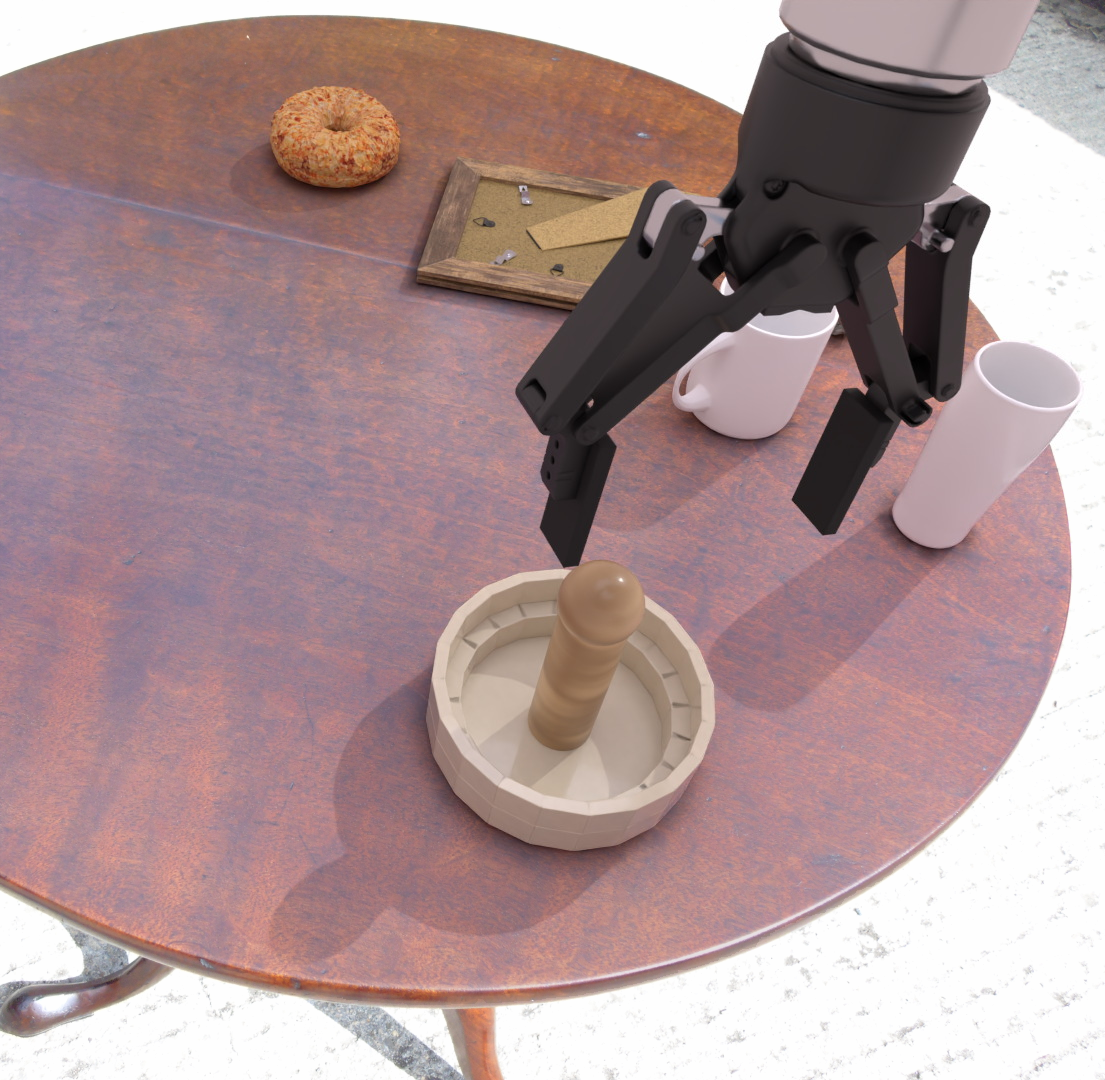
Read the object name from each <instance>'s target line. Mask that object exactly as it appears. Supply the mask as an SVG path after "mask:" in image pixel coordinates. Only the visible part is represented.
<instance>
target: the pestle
mask: <svg viewBox="0 0 1105 1080" xmlns="http://www.w3.org/2000/svg"><path fill="white" fill-rule="evenodd" d="M644 595H645V591H644V589H643V585H642V584H641V582H640V580H639V579H638V577H637V576H636V574H634V573H633V571H631V570H630V569H629V568H628V567H626V566H625V565H623V564H621V563H619V562H617V561H614V560H610V559H592V560H588V561H585V562H582V563H580V564H579V566H574V568H573V569H572V571H571V572H569V573H568V575H567V576H566V577H565V579H564V580H563V582H562V584H561V586H560V588H559V592H558V597H557V608H558V615H557V618H556V622H555V625H554V628H553V632H552V635H551V638H550V642H549V645H548V649H547V652H546V655H545V659H544V662H543V665H542V669H541V672H540V676H539V679H538V682H537V686H536V689H535V693H534V696H533V699H532V703H531V706H530V709H529V713H528V725H529V728H530V731H531V732H532V734H533V736H534V737H535V738H536V739H537V740H538V741H539V742H540V743H541V744H543V745H544V746H546V747H548V748H551V749H554V750H559V751H569V750H573V749H576V748H578V747H580V746H581V745H583V744H584V743H585V742H586V741H587V739H588V738H589V736H590V733H591V731H592V728H593V726H594V723H595V721H596V718H597V716H598V713H599V711H600V708H601V706H602V703H603V701H604V698H605V696H606V693H607V691H608V688H609V686H610V683H611V681H612V678H613V676H614V673H615V671H616V668H617V666H618V663H619V661H620V658H621V656H622V653H623V651H624V648H625V646H626V643H627V640H628V638H629V636H631V635H632V634H633V633H634V632H635V630H636V629H637V628H638V626H639V625H640V623H641V621H642V619H643V616H644V612H645V596H644Z"/></svg>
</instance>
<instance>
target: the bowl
mask: <svg viewBox="0 0 1105 1080" xmlns="http://www.w3.org/2000/svg"><path fill="white" fill-rule="evenodd" d="M572 570H573V569H572ZM572 570H571V569H565V568H554V569H543V570H533V571H523V572H518V573H515V574H513V575H511V576H508V577H505V578H502V579H500V580H498V581H495V582H492V583H489V584H487V585H485V586H483V587H482V588H481V589H480V590H478V591H477V592H476V593H475V594H474V595H472V596H471V597H470V598H469V599H468V600H467V601H465V602H464V603H463V604H462V605H460V606H459V607H458V608H457V609H456V610H455V611H454V612H453V614H452V616H451V617H450V620H449V621H448V622H447V624H446V626H445V628H444V629H443V631H442V633H441V634H440V636H439V638H438V639H437V642H436V649H435V654H434V661H433V665H432V673H431V680H430V687H429V694H428V701H427V707H426V712H425V713H426V714H425V722H426V727H427V732H428V738H429V743H430V748H431V753H432V756H433V758H434V760H435V762H436V764H437V765H438V767H439V769H440V771H441V772H442V774H443V775H444V777H445V779H446V781H447V783H448V784H449V786H450V788H451V789H452V791H453V793H454V794H455V795H456V796H457V797H458V798H459V799H460V800H461V801H462V802H464V803H465V804H466V805H467V806H468V807H469V808H470V809H471V810H472V811H473V812H475V814H477V816H478V817H480V818H481V819H482V820H483V821H484V822H485V823H487V824H488V825H490V826H492V827H494V828H496V829H498V830H501V831H503V832H505V834H508V835H510V836H513V837H514V838H516V839H519V840H521V841H523V842H525V843H527V844H530V845H536V846H542V847H547V848H552V849H559V850H565V851H569V852H570V851H571V852H577V851H583V850H591V849H600V848H607V847H613V846H617V845H621V844H622V843H625V842H627V841H628V840H631V839H633V838H634V837H637V836H638V835H641V834H643V833H645V832H647V831H649V830H651V829H652V828H654V827H656V825H657V824H658V823H659V822H660V821H661V820H662V819H663V818H664V817H665V816H666V815H667V813H669V811H670V810H671V809H672V808H673V807H674V806H675V804H677V802H679V800H680V799H681V797H682V796H683V794H684V792H685V791H686V789H687V788H688V786H689V785H690V782H691V781H692V778H693V777H694V775H695V774H696V772H697V771H698V769H699V767H700V765H701V764H702V763H703V760H704V757H705V755H706V753H707V749H708V746H709V744H710V741H711V738H712V735H713V732H714V730H715V727H716V705H715V704H716V703H715V686H714V682H713V679H712V677H711V674H710V672H709V670H708V669H709V668H708V666H707V664H706V662H705V659H704V657H703V655H702V651H701V649H700V648H699V646H698V645H697V644H696V642H695V641H694V640H693V638H692V637H691V636H690V635H689V634H688V632H687V631H686V630H685V629H684V627H683V626H682V625H681V624H680V622H679V621H678V620H677V619H676V617H675V616H674V615H673V614H671V613H670V611H668V610H666V609H665V608H663V606H661V605H659V604H658V603H657V602H655V601H654V600H652V599H651V598H650V597H648V596H647V595H646V594H644V596H645V612H644V616H643V619H642V621H641V623H640V625H639V626H638V628H637V629H636V630H635V632H634V633H633V634H632V635H631V636H629V638H628V640H627V643H626V646H625V648H624V651H623V653H622V656H621V658H620V661H619V663H618V666H617V668H616V671H615V673H614V676H613V678H612V681H611V683H610V686H609V688H608V691H607V693H606V696H605V698H604V701H603V703H602V706H601V708H600V711H599V713H598V716H597V718H596V721H595V723H594V726H593V728H592V731H591V733H590V736H589V738H588V739H587V741H586V742H585V743H584V744H583V745H581V746H580V747H578V748H576V749H573V750H569V751H559V750H554V749H551V748H548V747H546V746H544V745H543V744H541V743H540V742H539V741H538V740H537V739H536V738H535V737H534V736H533V734H532V732H531V731H530V728H529V725H528V713H529V709H530V706H531V703H532V699H533V696H534V693H535V689H536V686H537V682H538V679H539V676H540V672H541V669H542V665H543V662H544V659H545V655H546V652H547V649H548V645H549V642H550V638H551V635H552V632H553V628H554V625H555V622H556V618H557V615H558V608H557V597H558V592H559V588H560V586H561V584H562V582H563V580H564V579H565V577H566V576H567V575H568V573H569V572H571V571H572Z"/></svg>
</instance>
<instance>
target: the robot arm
mask: <svg viewBox="0 0 1105 1080" xmlns="http://www.w3.org/2000/svg"><path fill="white" fill-rule="evenodd" d="M1040 3H1041V0H781V2H780V5H779V8H778V16H779V19H780V20H781V22H782V25H783V26H784V27H785V29H786V30H787V31H786V32H783V33H781V34H780V35H778V36H777V37H775V39H774V40H771V41H770V42H769V43H767V44H766V46H765V48H764V52H763V53H762V57H761V60H760V62H759V66H758V69H757V71H756V75H755V78H754V81H753V84H752V87H751V89H750V93H749V96H748V99H747V103H746V105H745V108H744V110H743V114H742V117H741V120H740V123H739V125H738V126H739V127H738V130H737V131H738V132H737V157H736V158H737V159H736V166H735V170H734V172H733V174H732V176H731V177H730V179H729V181H728V182H727V183H726V185H725V186H724V188H722V190H721V191H720V192H719V193H718V195H717V196H716V197H714V196H713V197H712V196H705V195H701V196H697V195H688V194H683V193H682V192H681V191H682V190H680V189H679V188H678V187H677V186H676V185H674V183H672V181H670V180H667V179H659V180H657V181H654V182H653V183H652V184H651V185H650V187H649V186H648V187H649V188H648V189H647V191H646V192H645V194H644V197H643V199H642V202H641V204H640V207H639V210H638V212H637V215H636V217H635V220H634V222H633V225H632V227H631V230H630V233H629V235H628V238H627V239H626V240H625V242H624V243H623V244H622V246H621V247H620V248H619V250H618V251H617V252H616V254H615V255H614V256H613V258H612V259H611V260H610V262H609V263H608V264H607V266H606V267H605V268H604V270H603V271H602V272H601V274H600V275H599V276H598V278H597V279H596V280H595V282H594V283H593V284H592V286H591V287H590V288H589V290H588V291H587V292H586V294H585V295H584V296H583V298H582V299H581V300H580V302H579V303H578V304H577V306H576V307H575V308H574V310H571V312H570V314H569V315H568V316H567V317H566V319H565V320H564V322H563V323H562V324H561V326H560V327H559V328H558V329H557V331H556V332H555V334H554V335H553V336H552V338H551V339H550V340H549V342H548V343H547V345H546V346H545V347H544V348H543V350H542V351H541V352H540V353H539V355H538V356H537V357H536V359H535V361H534V362H533V363H532V364H531V366H529V368H528V369H527V371H526V372H525V374H524V375H523V376H522V377H521V379H520V380H519V382H518V383H517V385H516V387H515V392H514V394H515V397H516V399H517V400H518V402H519V403H520V405H521V406H522V407H523V409H524V411H525V412H526V414H527V416H528V417H529V418H530V420H531V422H532V423H533V425H534V426H535V427H536V429H537V430H538V432H539V433H540V434H541V435H543V436H547V437H548V441H547V444H546V447H545V453H544V456H543V461H542V463H541V466H540V471H539V473H540V478H541V482H542V483H543V485H544V486H545V488H546V489H547V491H548V496H547V500H546V502H545V507H544V511H543V514H542V517H541V521H540V524H539V530H540V531H541V533H542V534H543V536H544V538H545V539H546V541H547V543H548V544H549V546H550V548H551V550H552V551H553V553H554V554H555V557H556V558H557V560H558V562H559V563H560V565H561V566H562V569H565V568H572V567H574V568H575V567H577V566H579V565H580V564H581V561H582V557H583V554H584V551H585V548H586V545H587V542H588V538H589V535H590V533H591V530H592V526H593V523H594V521H595V517H596V514H597V511H598V507H599V504H600V502H601V499H602V495H603V492H604V489H605V486H606V483H607V479H608V476H609V474H610V470H611V467H612V464H613V461H614V457H615V455H616V452H617V448H618V445H617V444H616V443H615V442H614V441H613V439H612V437H611V435H609V434H608V433H609V432H610V431H611V430H612V429H613V428H615V427H616V426H617V425H618V424H619V423H620V422H622V421H623V419H625V418H626V417H627V416H628V415H629V414H631V412H633V411H634V410H635V409H636V408H638V406H639V405H641V404H642V403H643V402H644V401H646V400H647V399H648V398H649V397H650V396H651V395H652V394H654V393H655V392H656V391H657V390H658V389H660V387H662V386H663V385H664V384H665V383H667V382H668V380H670V379H671V378H672V377H673V376H675V375H676V374H677V373H678V372H679V370H680V369H681V368H682V367H683V366H684V365H685V364H687V363H688V362H689V361H690V360H691V359H692V358H693V357H695V356H696V355H697V354H698V353H699V352H700V351H702V350H703V349H704V348H705V347H706V346H707V345H708V344H710V343H711V342H712V341H713V340H714V339H715V338H716V337H718V336H719V335H720V334H722V333H724V332H736V331H738V330H740V329H741V328H743V327H744V326H745V325H746V324H747V323H748V322H750V321H751V320H752V319H753V318H754V317H755V316H757V315H758V314H759V313H761V314H762V315H763V316H777V315H783V314H786V313H790V312H793V311H796V310H803V311H807V312H811V313H831V311H832V309H833V307H834V306H836V309H837V312H838V315H839V320H840V323H841V325H842V326H843V328H844V331H845V334H844V335H845V336H846V339H847V342H848V345H849V348H850V351H851V353H852V356H853V359H854V361H855V364H856V367H857V370H858V373H859V375H860V378H861V381H862V383H863V385H864V387H866V388H867V390H866V392H865V393H864V392H863V391H862V390H861V389H860V388H858V387H847V388H846V387H845V388H843V389H842V391H841V393H840V396H839V398H838V400H837V402H836V404H835V406H834V408H833V411H832V412H831V414H830V417H829V418H828V421H827V423H826V425H825V427H824V429H823V431H822V434H821V436H820V438H819V440H818V442H817V444H816V446H815V448H814V451H813V453H812V455H811V457H810V458H809V461H808V463H807V465H806V467H805V470H804V471H803V474H802V476H801V478H800V480H799V482H798V485H797V487H796V488H795V490H794V493H793V495H792V497H791V499H790V500H791V502H793V504H794V505H795V506H796V508H798V509H799V511H800V512H801V513H802V514H803V515H804V516H805V517H806V519H807V520H808V521H809V522H810V523H811V524H812V525H813V527H814V528H815V529H816V530H817V531H818V532H819V533H820V534H821V536H831V535H837V532H838V530H839V528H840V527H841V525H842V523H843V521H844V519H845V517H846V515H847V514H848V511H849V509H850V508H851V506H852V504H853V501H854V500H855V498H856V496H857V495H858V492H859V490H860V488H861V486H862V484H863V483H864V481H865V479H866V477H867V475H868V473H869V471H870V469H873V468H874V467H875V466H876V465H877V464H878V463H879V462H880V461H881V460H882V458H883V456H884V454H885V452H886V450H887V448H888V447H889V444H890V443H891V441H892V439H893V438H894V436H895V434H896V431H897V429H898V428H899V426H900V424H901V422H904V423H905V424H906V425H907V427H909V428H913V429H914V428H918V427H920V426H922V425H924V424H925V423H926V422H927V421H928V420H929V419H930V418H931V416H932V414H933V406H931V405H930V404H929V403H927V402H926V401H927V400H930V399H932V398H934V400H936V401H937V402H938V403H945V402H946V401H948V400H950V399H951V398H953V397H954V396H955V395H956V394H957V393H958V391H959V390H960V387H961V382H962V373H963V372H964V370H963V369H964V358H965V347H966V337H967V336H966V335H967V325H968V314H969V305H970V304H969V302H970V291H971V280H972V269H973V268H972V267H973V257H974V255H975V253H976V250H977V248H978V245H979V243H980V241H981V238H982V236H983V233H984V231H985V229H986V226H987V224H988V222H989V219H990V218H991V217H990V216H991V213H992V211H991V210H992V209H991V206H989V204H988V203H986V202H984V201H982V200H981V199H980V198H978V197H977V196H975V195H973V194H972V193H970V192H968V191H967V190H966V189H963V188H962V187H961V186H959V185H958V184H956V183H954V180H955V179H956V176H957V174H958V172H959V169H960V168H961V166H962V163H963V161H964V159H965V157H966V154H967V153H968V151H969V149H970V147H971V145H972V142H973V140H974V138H975V136H976V134H977V132H978V130H979V128H980V126H981V124H982V122H983V120H984V117H985V115H986V114H987V111H988V110H989V107H990V105H991V102H992V99H991V95H990V93H989V87H988V85H987V83H986V82H985V80H984V79H989V78H990V79H991V78H993V77H995V76H997V75H999V74H1000V73H1003V72H1004V71H1006V70H1008V69H1009V68H1010V66H1011V64H1012V62H1013V59H1014V57H1015V55H1016V53H1017V51H1018V49H1019V47H1020V45H1021V42H1022V41H1023V38H1024V36H1025V34H1026V31H1027V30H1028V28H1029V25H1030V23H1031V22H1032V19H1033V17H1034V14H1035V12H1036V11H1037V9H1038V6H1039V4H1040ZM710 239H711V240H710ZM709 240H710V242H708V243H707V241H709ZM705 243H707V244H706V245H705V246H704V244H705ZM904 248H905V251H904V253H905V254H904V281H903V282H904V284H903V310H902V311H903V313H902V314H903V315H902V329H901V326H900V323H899V320H898V317H897V313H896V310H895V309H896V308H897V307H898V306H899V300H898V297H897V293H896V291H895V287H894V283H893V280H892V277H891V273H890V270H889V265H890V261H891V260H892V259H894V257H895V256H896V255H897V254H899V252H900V251H902V250H903V249H904ZM722 274H724V276H725V277H726V279H727V282H728V284H729V285H730V287H731V289H732V290H733V291H734V293H732V294H731V295H727V296H725V295H723V294H722V293H721V292H720V291H719V289H718V288H717V287H716V286H715V285H714V282H715V281H716V279H718V278H719V277H720V276H721V275H722ZM591 401H593V402H592V405H591V406H590V402H591Z"/></svg>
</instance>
